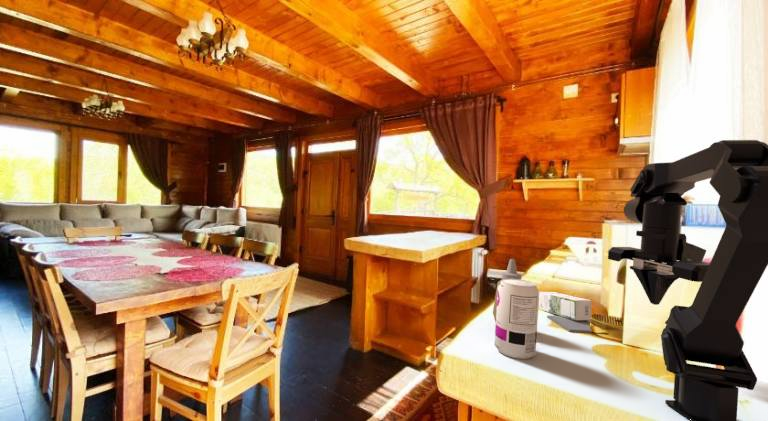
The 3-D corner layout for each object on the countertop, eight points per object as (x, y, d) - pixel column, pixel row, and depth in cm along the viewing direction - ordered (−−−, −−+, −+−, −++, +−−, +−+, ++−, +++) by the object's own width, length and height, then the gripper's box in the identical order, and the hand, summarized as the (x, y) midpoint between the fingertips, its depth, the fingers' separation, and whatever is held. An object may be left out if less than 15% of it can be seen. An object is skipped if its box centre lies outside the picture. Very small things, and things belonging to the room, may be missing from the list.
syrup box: (591, 299, 91) (553, 291, 105) (574, 299, 89) (537, 291, 103) (592, 320, 90) (553, 309, 104) (575, 321, 89) (537, 309, 103)
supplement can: (487, 350, 69) (491, 280, 69) (504, 340, 75) (508, 276, 75) (526, 364, 63) (530, 288, 63) (541, 353, 69) (545, 283, 69)
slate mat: (607, 333, 83) (607, 331, 83) (569, 331, 83) (569, 329, 83) (580, 319, 94) (580, 317, 94) (547, 317, 94) (547, 315, 94)
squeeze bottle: (485, 325, 84) (489, 257, 84) (507, 322, 88) (511, 256, 88) (509, 336, 77) (513, 262, 77) (532, 333, 81) (536, 261, 80)
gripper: (754, 233, 55) (746, 321, 56) (651, 222, 74) (646, 288, 75) (698, 233, 54) (691, 323, 55) (608, 222, 73) (603, 289, 74)
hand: (654, 304), depth 65 cm, fingers closed
